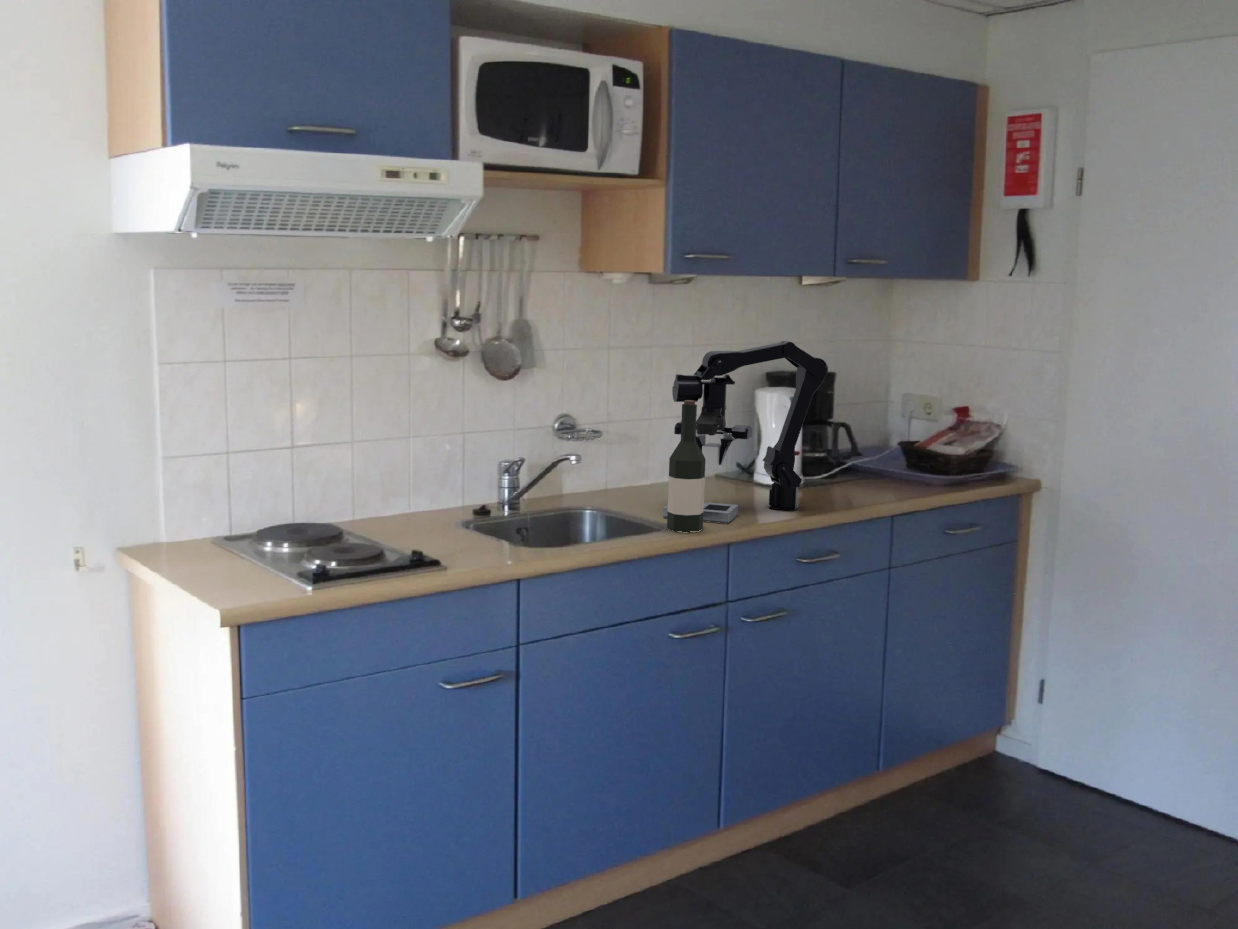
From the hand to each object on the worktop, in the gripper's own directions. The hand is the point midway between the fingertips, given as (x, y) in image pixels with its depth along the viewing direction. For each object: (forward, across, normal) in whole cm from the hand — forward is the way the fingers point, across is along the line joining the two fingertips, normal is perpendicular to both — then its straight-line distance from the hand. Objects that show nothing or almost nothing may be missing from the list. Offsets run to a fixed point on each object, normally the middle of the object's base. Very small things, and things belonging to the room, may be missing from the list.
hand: (711, 464), depth 305 cm
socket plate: (+12, 0, -10) cm, 15 cm away
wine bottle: (+12, +1, -26) cm, 28 cm away
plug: (+1, 0, 0) cm, 1 cm away
